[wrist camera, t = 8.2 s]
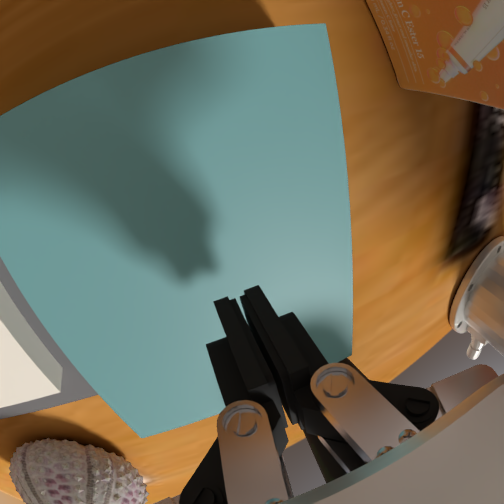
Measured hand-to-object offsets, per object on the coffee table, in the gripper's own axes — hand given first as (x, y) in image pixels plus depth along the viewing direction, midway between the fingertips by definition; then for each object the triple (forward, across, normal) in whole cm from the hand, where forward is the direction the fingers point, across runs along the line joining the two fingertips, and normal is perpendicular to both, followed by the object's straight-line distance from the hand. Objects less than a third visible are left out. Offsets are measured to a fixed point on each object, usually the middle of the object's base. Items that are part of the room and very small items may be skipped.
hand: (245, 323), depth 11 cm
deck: (+6, +1, -1) cm, 6 cm away
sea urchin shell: (+6, +19, +16) cm, 26 cm away
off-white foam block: (+4, +14, 0) cm, 15 cm away
